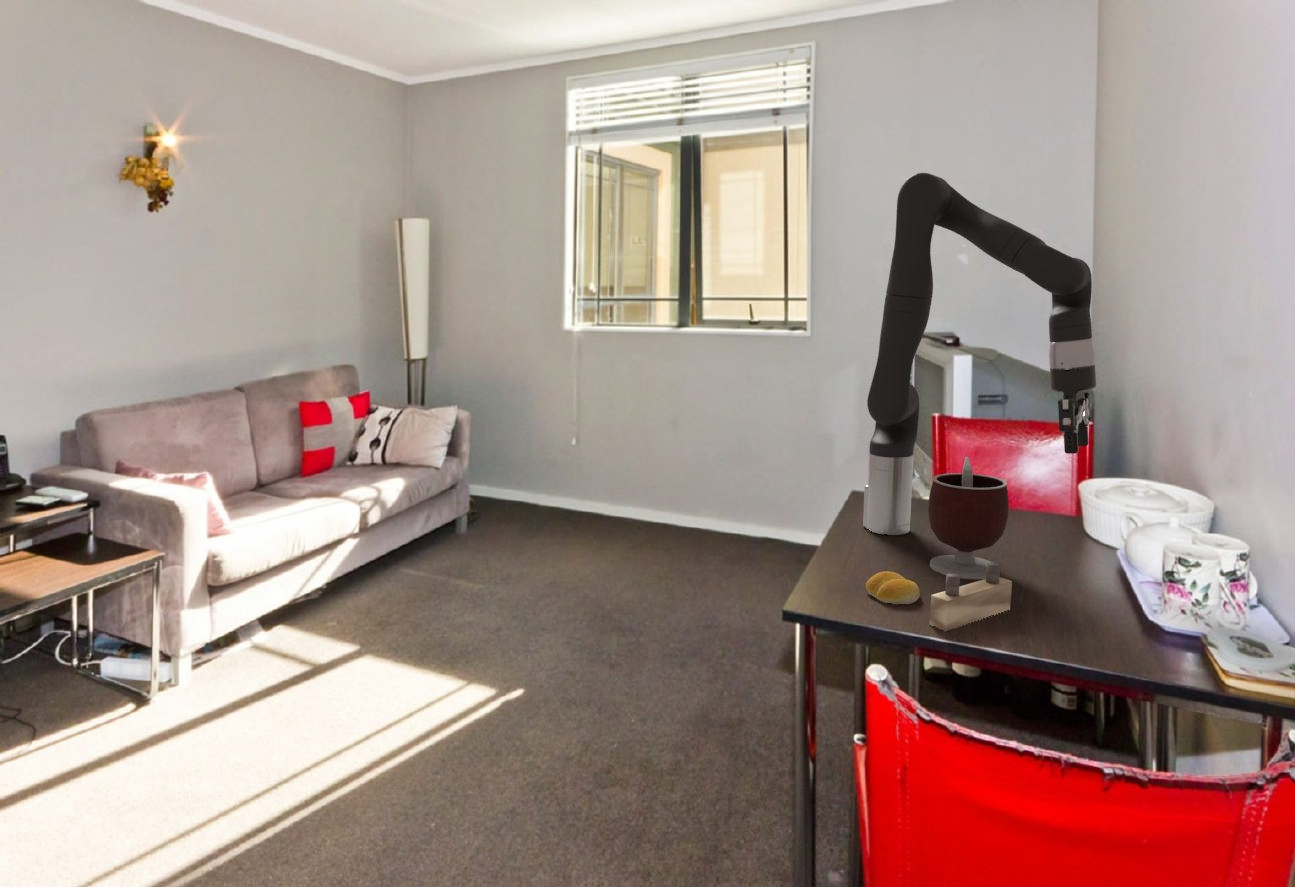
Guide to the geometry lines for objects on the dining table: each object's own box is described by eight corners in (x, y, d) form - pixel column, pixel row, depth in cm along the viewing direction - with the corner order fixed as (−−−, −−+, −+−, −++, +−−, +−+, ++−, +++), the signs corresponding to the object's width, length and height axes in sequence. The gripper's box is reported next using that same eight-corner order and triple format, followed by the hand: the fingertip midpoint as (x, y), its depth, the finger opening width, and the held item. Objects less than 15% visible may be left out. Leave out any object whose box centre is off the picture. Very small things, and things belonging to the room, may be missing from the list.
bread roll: (890, 609, 132) (891, 586, 131) (858, 591, 140) (859, 570, 139) (931, 602, 134) (932, 580, 134) (897, 585, 143) (898, 564, 142)
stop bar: (929, 625, 124) (932, 576, 123) (993, 604, 133) (996, 558, 131) (945, 631, 122) (948, 582, 121) (1010, 610, 130) (1013, 563, 129)
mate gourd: (1008, 584, 142) (1016, 475, 139) (926, 576, 146) (932, 470, 143) (998, 557, 157) (1005, 458, 153) (923, 551, 161) (929, 454, 157)
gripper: (1059, 363, 157) (1064, 444, 159) (1040, 369, 146) (1045, 456, 148) (1102, 360, 152) (1106, 443, 154) (1086, 366, 141) (1090, 455, 143)
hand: (1076, 449), depth 151 cm, fingers open, 8 cm apart
